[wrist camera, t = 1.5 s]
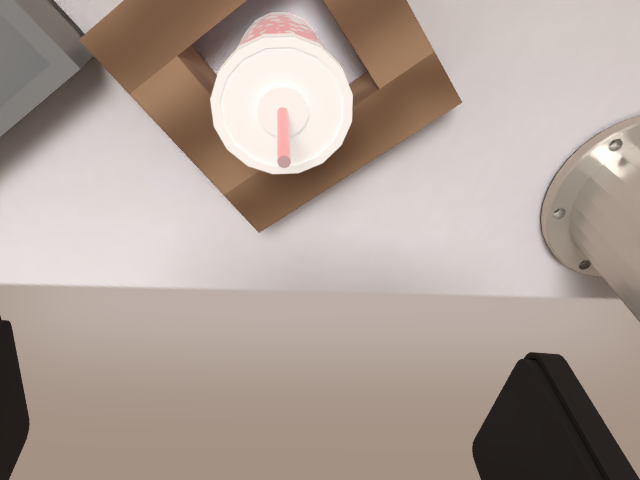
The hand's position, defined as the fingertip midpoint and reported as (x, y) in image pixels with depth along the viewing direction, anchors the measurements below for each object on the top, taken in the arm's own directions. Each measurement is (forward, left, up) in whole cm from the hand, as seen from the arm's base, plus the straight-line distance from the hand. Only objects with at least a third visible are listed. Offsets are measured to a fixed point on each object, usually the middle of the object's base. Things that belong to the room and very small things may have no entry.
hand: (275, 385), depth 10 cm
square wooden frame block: (0, 0, -24) cm, 24 cm away
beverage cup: (0, 0, -24) cm, 24 cm away
